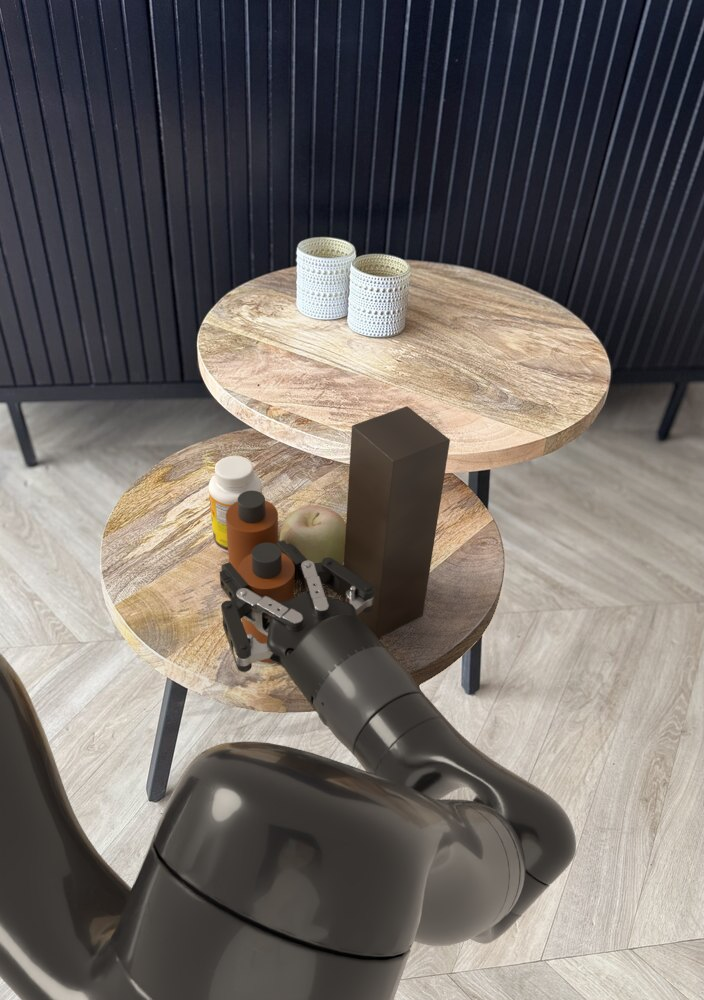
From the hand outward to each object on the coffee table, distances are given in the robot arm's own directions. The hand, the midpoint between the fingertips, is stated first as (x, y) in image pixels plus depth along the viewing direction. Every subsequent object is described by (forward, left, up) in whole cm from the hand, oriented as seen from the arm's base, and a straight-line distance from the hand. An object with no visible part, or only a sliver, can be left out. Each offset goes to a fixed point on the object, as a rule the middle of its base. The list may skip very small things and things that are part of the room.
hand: (252, 559), depth 74 cm
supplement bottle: (+4, +12, -9) cm, 16 cm away
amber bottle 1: (+2, +4, -9) cm, 10 cm away
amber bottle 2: (0, -3, -9) cm, 9 cm away
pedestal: (+12, -5, -9) cm, 16 cm away
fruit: (+9, +4, -9) cm, 14 cm away
